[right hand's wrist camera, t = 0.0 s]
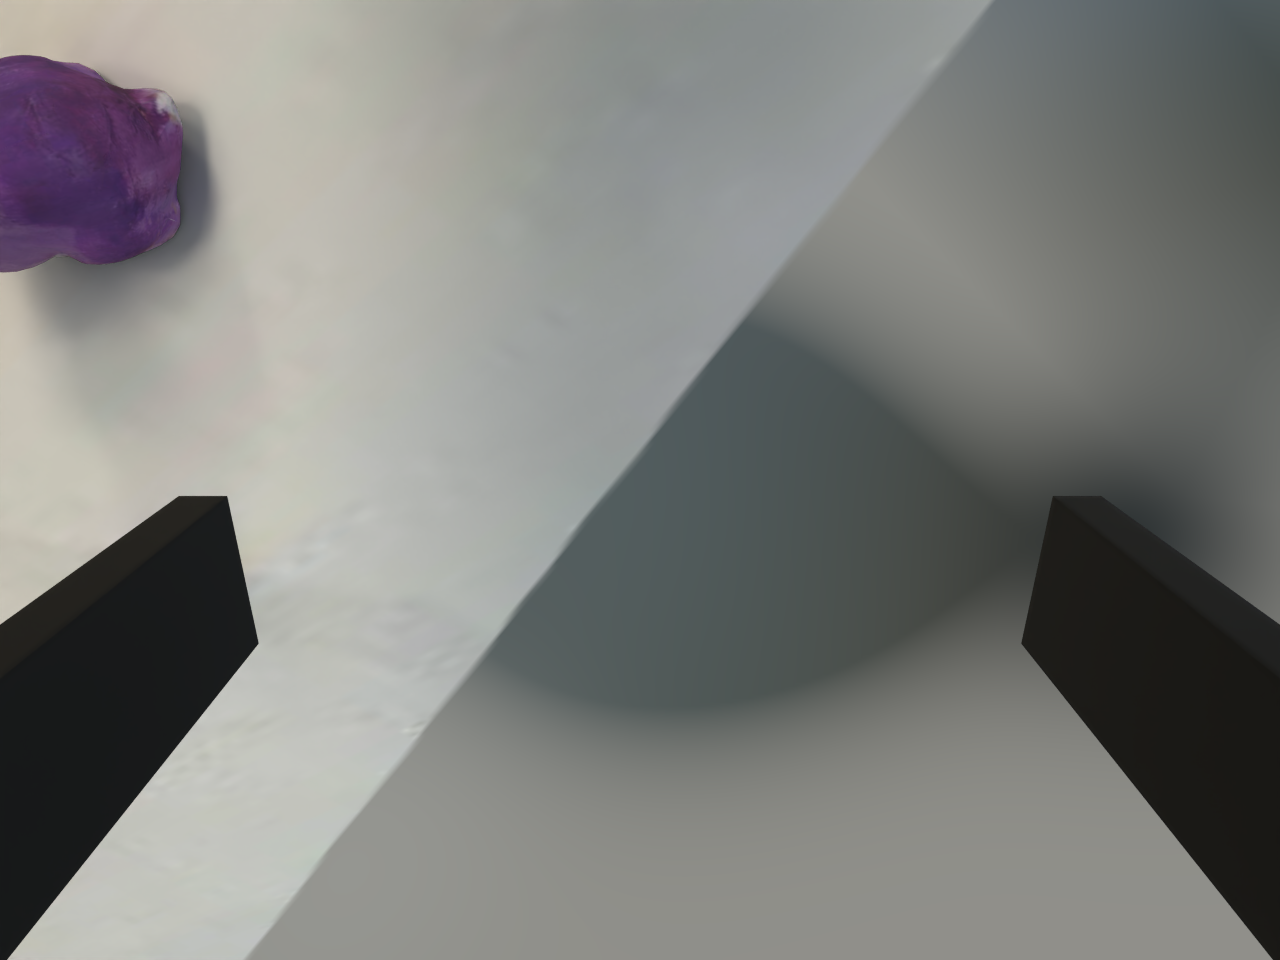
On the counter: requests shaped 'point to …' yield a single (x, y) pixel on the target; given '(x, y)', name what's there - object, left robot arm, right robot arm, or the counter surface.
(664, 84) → the counter surface
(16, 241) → the figurine
